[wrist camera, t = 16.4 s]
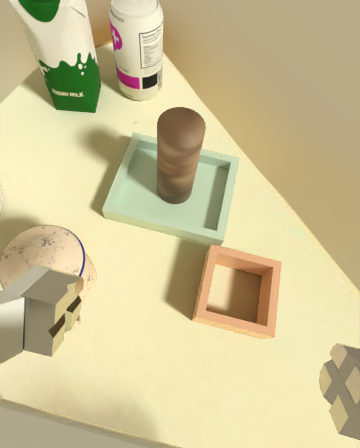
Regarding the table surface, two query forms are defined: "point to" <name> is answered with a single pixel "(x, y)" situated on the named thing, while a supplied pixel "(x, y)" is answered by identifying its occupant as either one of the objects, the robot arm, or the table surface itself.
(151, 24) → the supplement can
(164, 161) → the walnut canister
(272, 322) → the terracotta holder
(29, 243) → the teacup with lid
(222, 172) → the sage tray
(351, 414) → the robot arm
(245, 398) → the table surface
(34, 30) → the milk carton
